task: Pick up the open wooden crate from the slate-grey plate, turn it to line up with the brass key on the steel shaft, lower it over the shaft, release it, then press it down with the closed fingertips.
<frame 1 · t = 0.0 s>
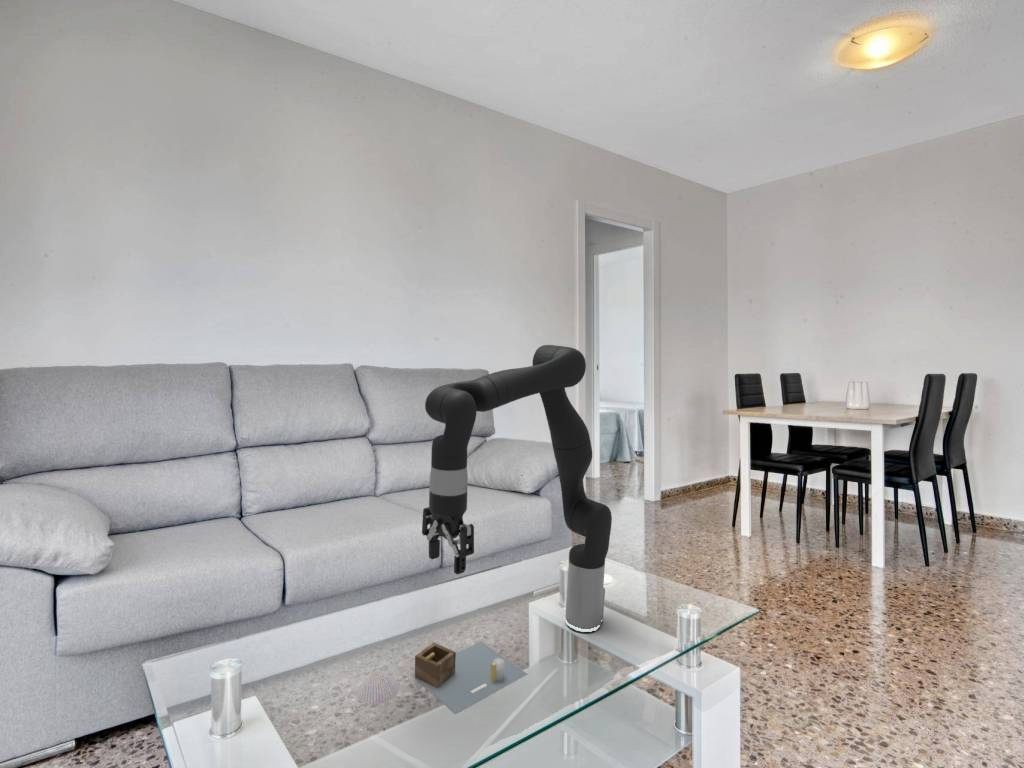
hand: (446, 565, 119), 29 cm above the table, fingers open, 8 cm apart
open wooden crate: (435, 675, 129), point 1 cm above the table, touching shaft plate
seashell: (378, 697, 123), on the table
shaft plate: (469, 679, 130), on the table
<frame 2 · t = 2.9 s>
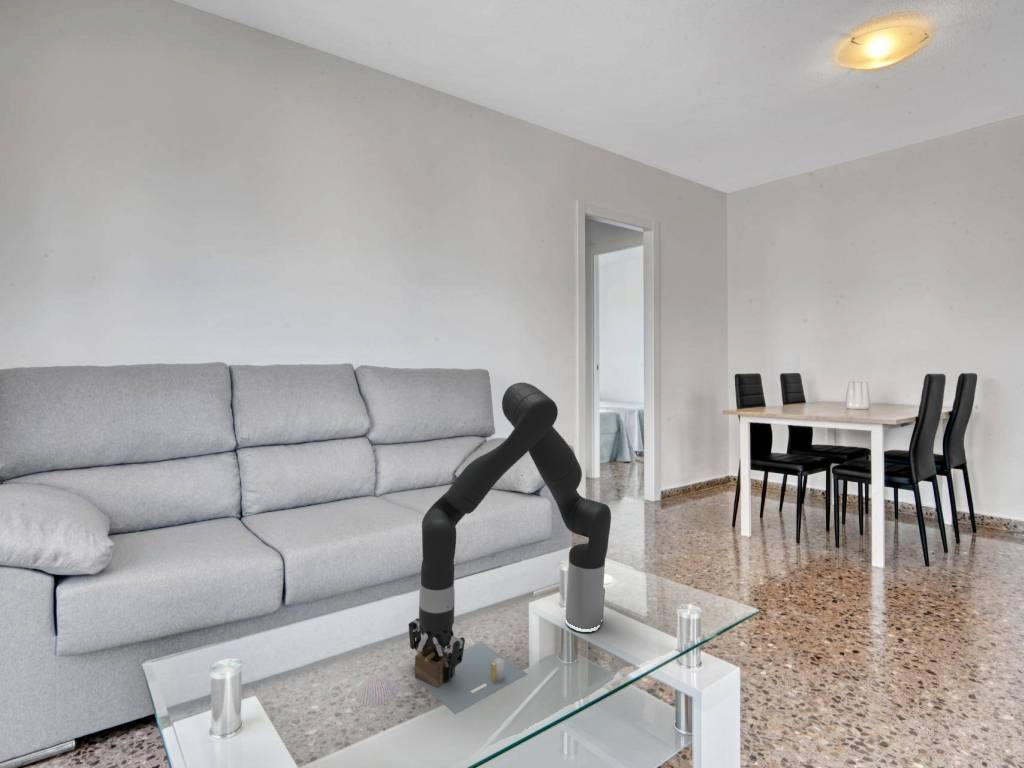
hand: (435, 674, 129), 1 cm above the table, fingers closed on open wooden crate, 6 cm apart
open wooden crate: (435, 675, 129), point 1 cm above the table, touching gripper, shaft plate
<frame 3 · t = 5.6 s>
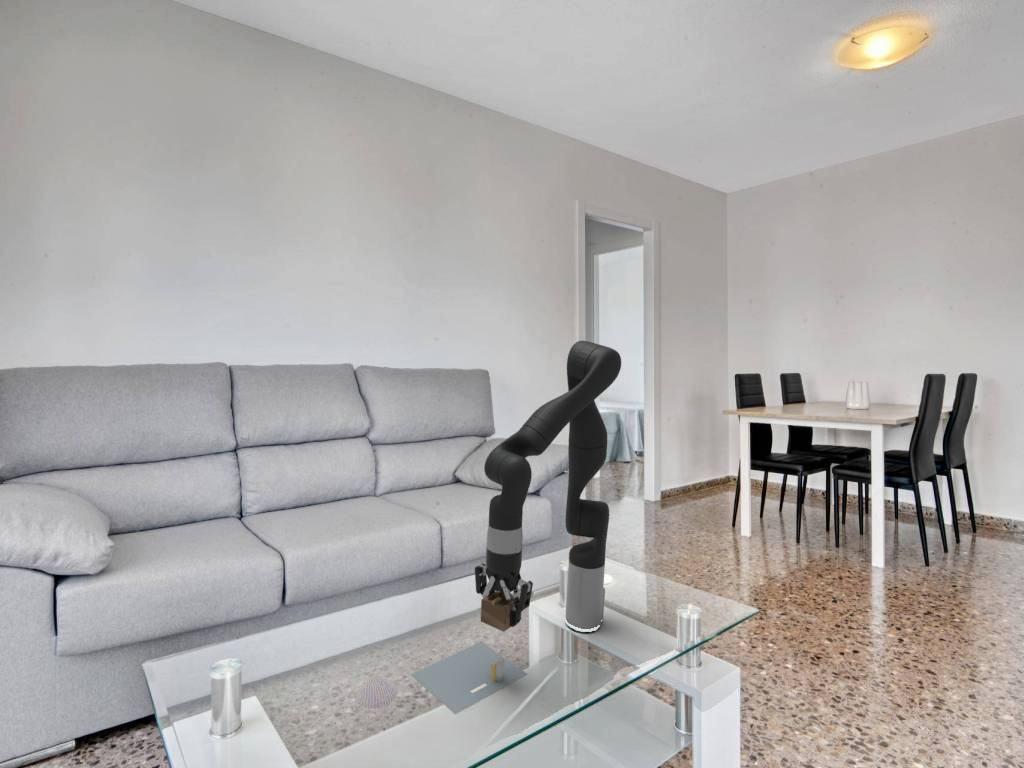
hand: (501, 619, 126), 15 cm above the table, fingers closed on open wooden crate, 6 cm apart
open wooden crate: (501, 620, 126), point 15 cm above the table, touching gripper
when the fingers open (3 cm above the table, at t = 8.4 s): open wooden crate drops 1 cm, resting on shaft plate.
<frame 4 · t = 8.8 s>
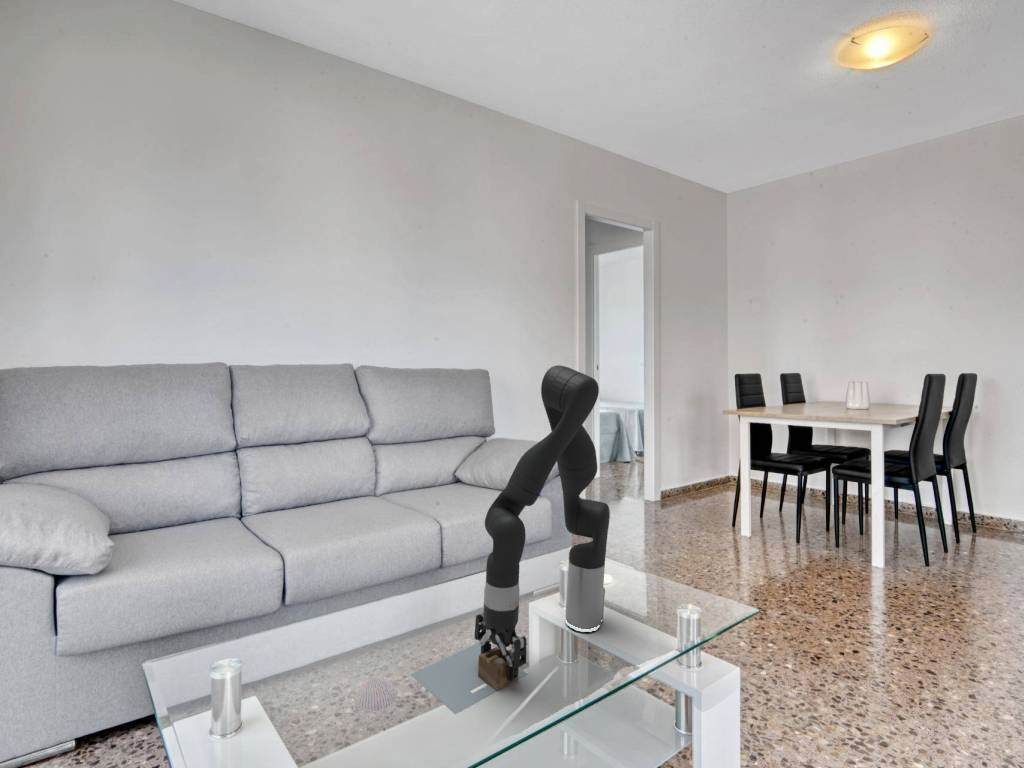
hand: (498, 670, 128), 3 cm above the table, fingers open, 8 cm apart
open wooden crate: (498, 678, 129), point 1 cm above the table, touching shaft plate
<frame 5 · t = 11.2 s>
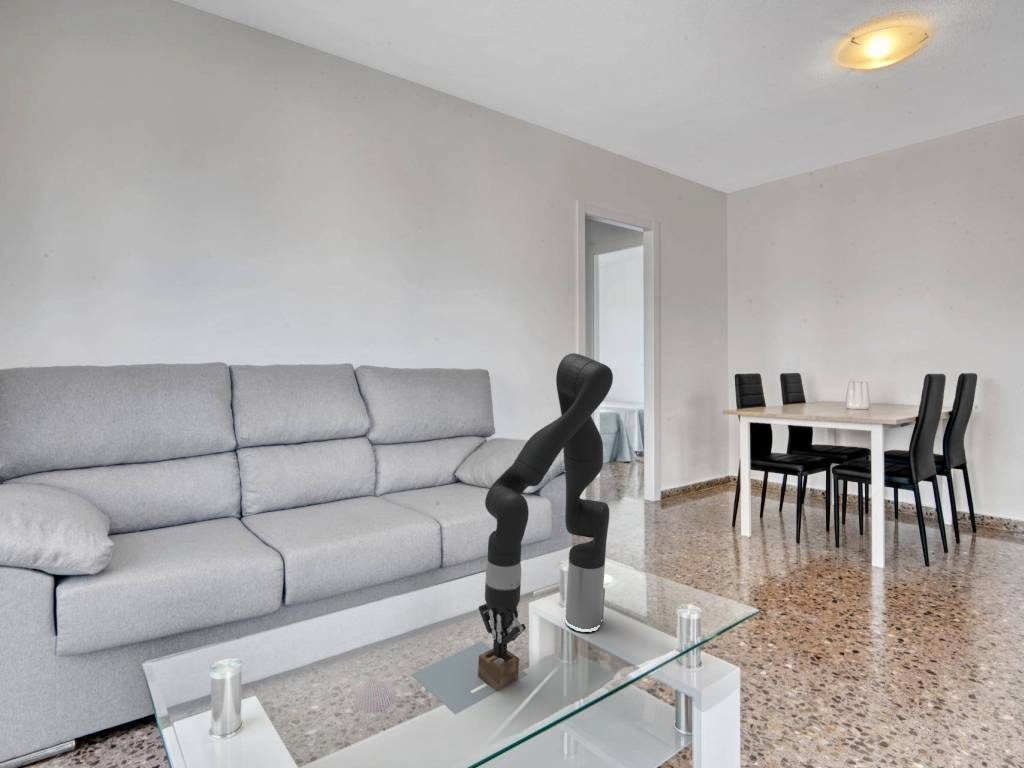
hand: (499, 655, 127), 7 cm above the table, fingers closed
open wooden crate: (498, 678, 129), point 1 cm above the table, touching gripper, shaft plate
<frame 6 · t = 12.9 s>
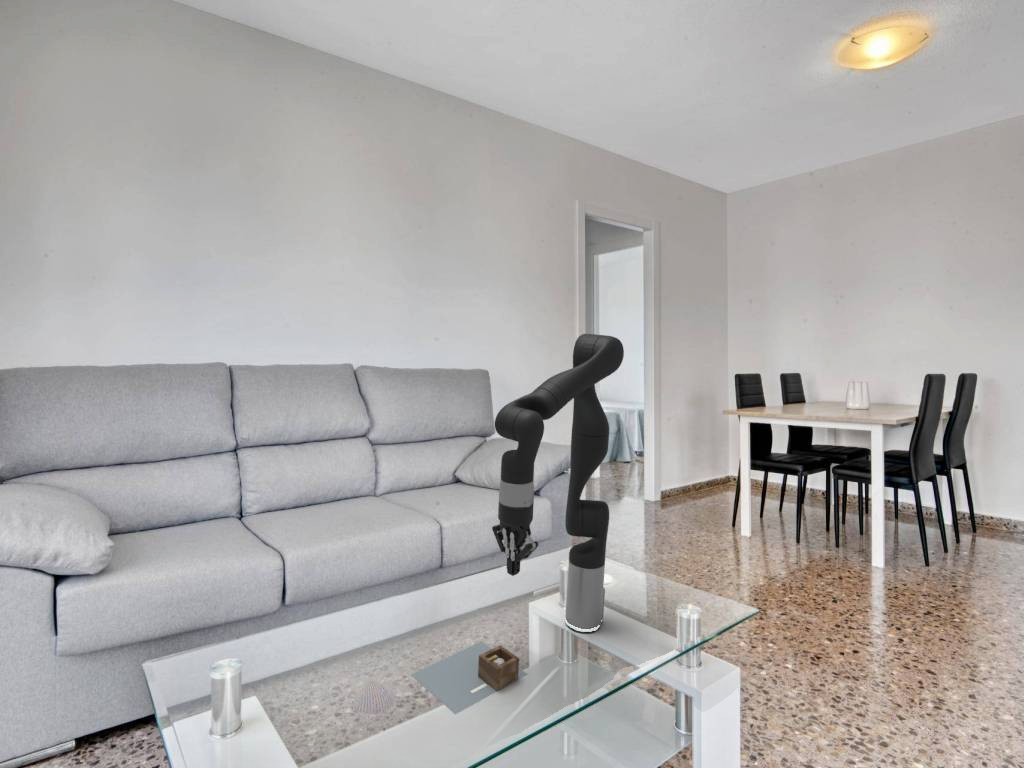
hand: (513, 573, 130), 23 cm above the table, fingers closed
open wooden crate: (498, 678, 129), point 1 cm above the table, touching shaft plate
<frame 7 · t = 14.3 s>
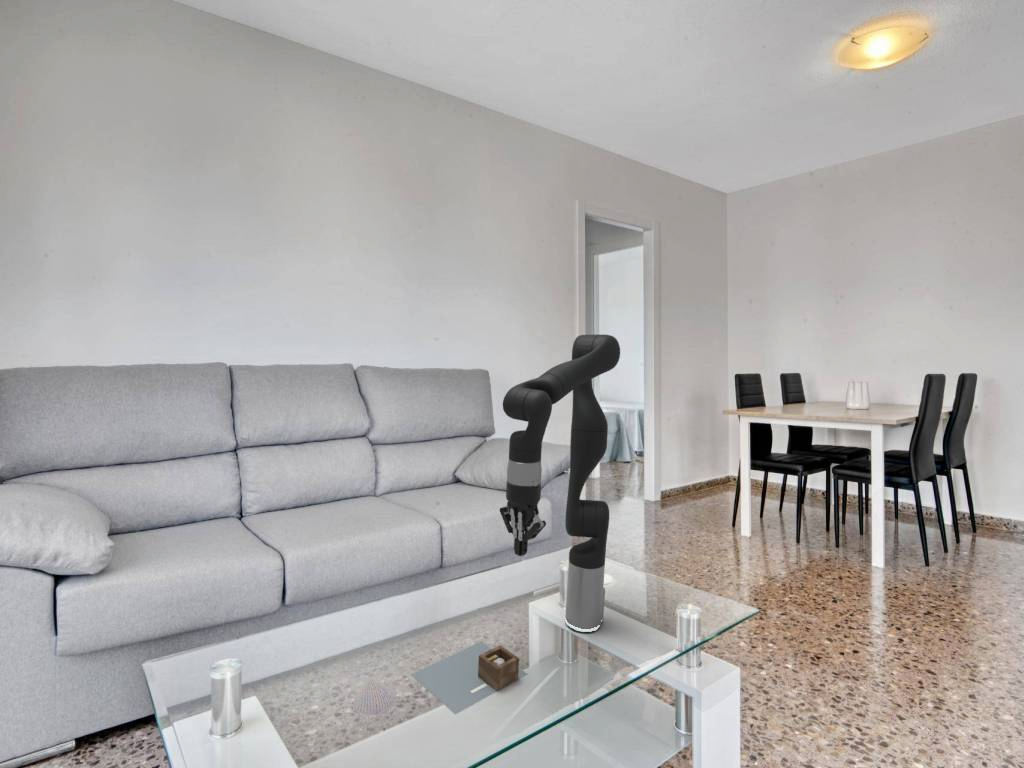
hand: (520, 554, 131), 27 cm above the table, fingers closed
at the end: open wooden crate 0.1 cm from the target spot on the shaft plate, point 1.2 cm above the shaft plate's base; open wooden crate tilted 0°; the gripper is holding nothing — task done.
